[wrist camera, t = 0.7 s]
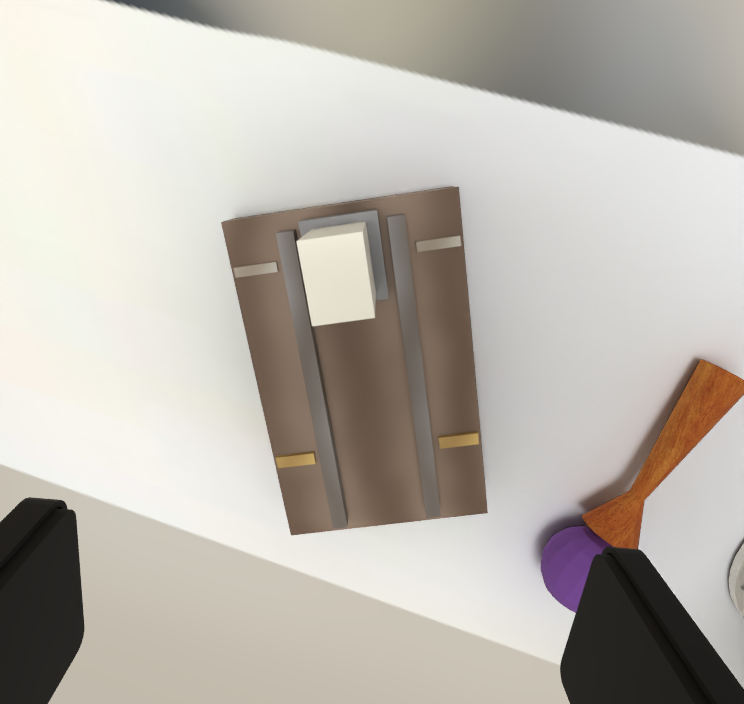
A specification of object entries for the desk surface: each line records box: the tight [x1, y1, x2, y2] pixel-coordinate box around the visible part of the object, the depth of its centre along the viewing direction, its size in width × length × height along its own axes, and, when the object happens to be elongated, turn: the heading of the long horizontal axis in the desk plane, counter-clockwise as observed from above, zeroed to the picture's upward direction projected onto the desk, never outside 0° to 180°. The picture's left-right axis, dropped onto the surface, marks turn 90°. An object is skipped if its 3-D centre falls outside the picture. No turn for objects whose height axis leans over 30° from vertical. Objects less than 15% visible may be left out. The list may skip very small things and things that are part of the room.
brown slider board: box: [221, 187, 488, 535], centre depth 35 cm, size 14×22×4 cm, turn 8°
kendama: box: [541, 359, 744, 612], centre depth 38 cm, size 6×6×20 cm
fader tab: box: [296, 209, 389, 326], centre depth 28 cm, size 4×5×8 cm
